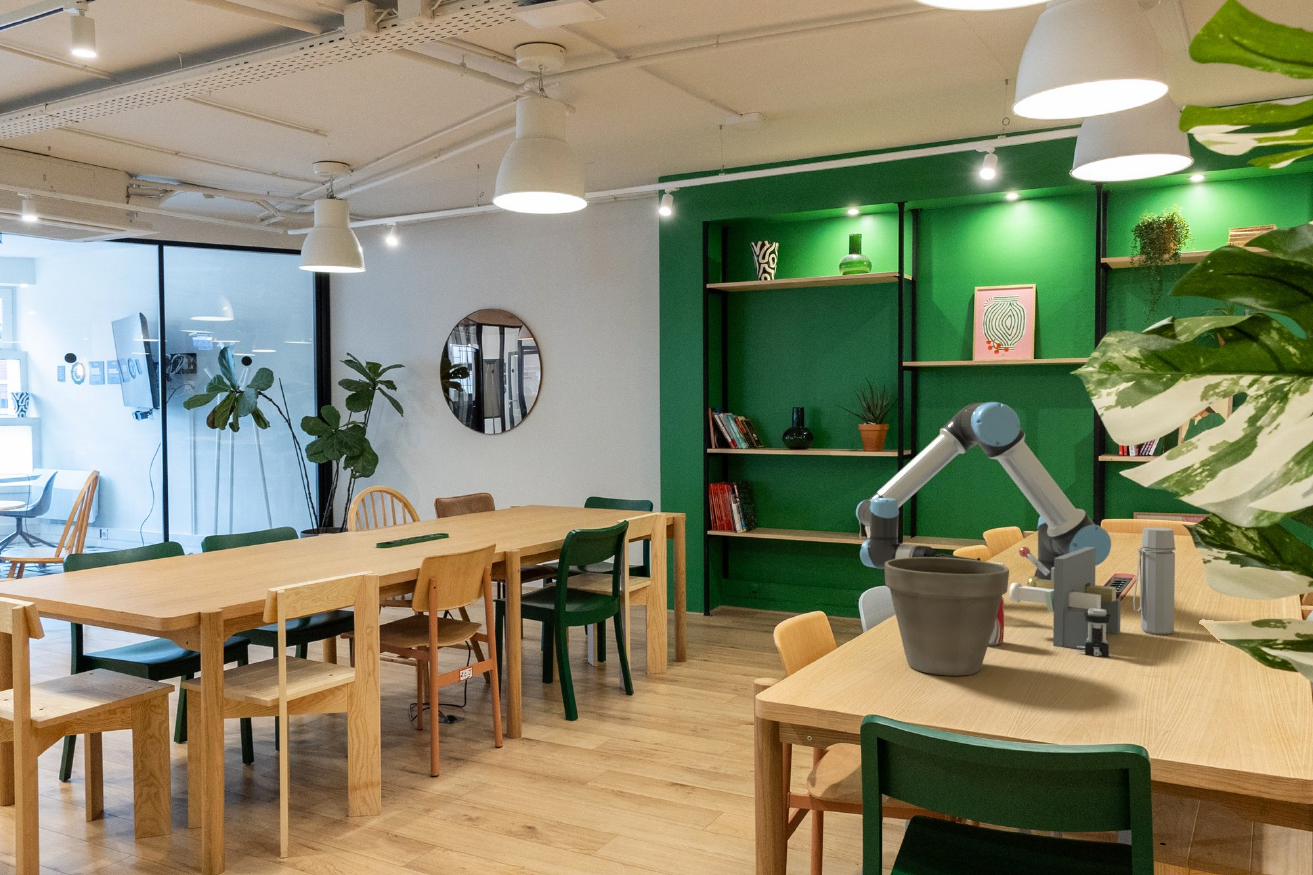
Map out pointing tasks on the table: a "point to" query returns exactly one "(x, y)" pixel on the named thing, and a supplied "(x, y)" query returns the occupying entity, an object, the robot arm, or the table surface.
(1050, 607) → the rocker
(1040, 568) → the toggle lever
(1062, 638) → the panel
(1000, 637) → the soda can
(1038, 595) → the white plunger
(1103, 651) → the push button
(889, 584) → the plant pot
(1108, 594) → the brass plunger
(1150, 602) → the water bottle
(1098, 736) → the table surface
